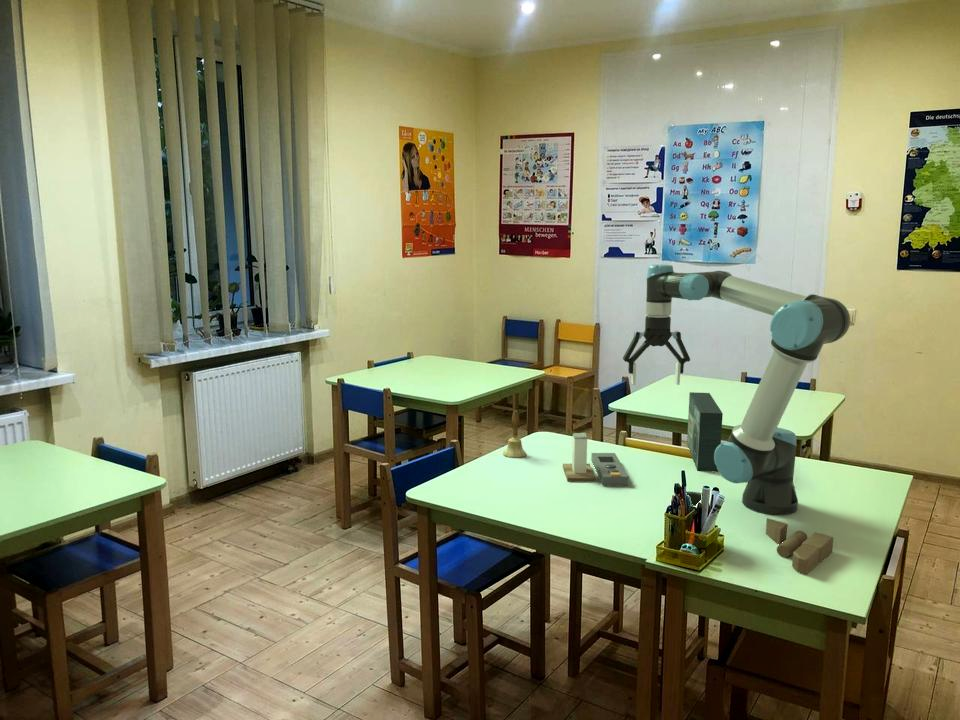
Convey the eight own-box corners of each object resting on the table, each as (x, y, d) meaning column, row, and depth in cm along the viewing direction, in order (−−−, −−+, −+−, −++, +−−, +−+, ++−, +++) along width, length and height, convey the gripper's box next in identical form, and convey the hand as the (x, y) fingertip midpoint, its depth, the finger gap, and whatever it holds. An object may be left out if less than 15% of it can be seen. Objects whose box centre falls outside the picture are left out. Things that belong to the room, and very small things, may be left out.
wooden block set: (835, 531, 186) (809, 555, 173) (833, 553, 187) (807, 577, 174) (768, 513, 198) (739, 534, 185) (767, 533, 199) (737, 555, 186)
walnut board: (595, 481, 237) (596, 477, 237) (567, 481, 237) (567, 477, 237) (589, 467, 251) (589, 463, 250) (562, 467, 251) (562, 463, 250)
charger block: (586, 473, 241) (587, 437, 239) (573, 473, 241) (574, 437, 239) (584, 468, 246) (585, 432, 244) (572, 468, 246) (572, 432, 244)
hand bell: (520, 449, 270) (520, 406, 267) (530, 456, 262) (530, 412, 259) (499, 452, 267) (499, 409, 264) (508, 459, 259) (508, 414, 256)
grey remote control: (628, 485, 233) (628, 474, 232) (602, 485, 233) (603, 474, 232) (614, 461, 256) (614, 450, 256) (591, 461, 256) (591, 450, 256)
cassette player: (686, 445, 275) (689, 392, 271) (706, 445, 274) (709, 392, 270) (697, 471, 247) (700, 412, 243) (719, 472, 246) (722, 413, 242)
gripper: (695, 314, 231) (692, 381, 235) (615, 314, 231) (612, 381, 235) (702, 317, 223) (699, 386, 227) (619, 317, 223) (617, 386, 227)
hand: (655, 383), depth 231 cm, fingers open, 13 cm apart
